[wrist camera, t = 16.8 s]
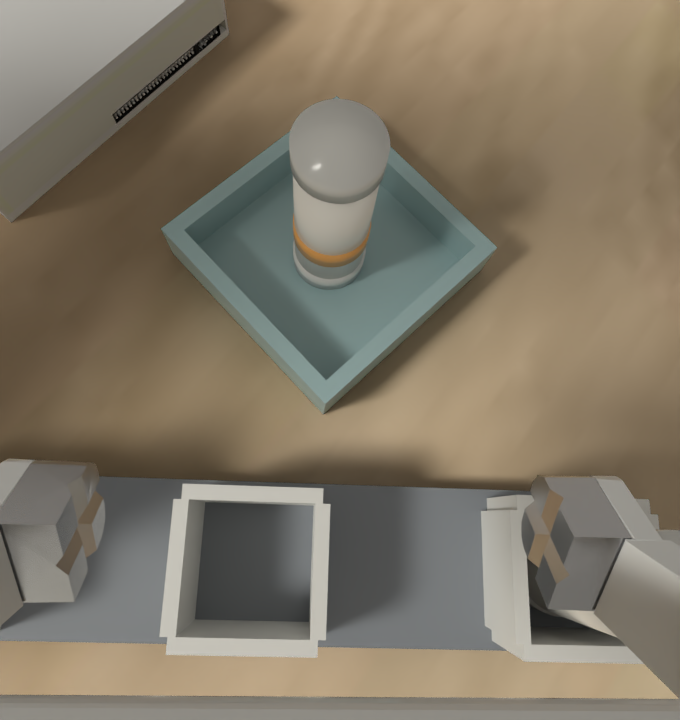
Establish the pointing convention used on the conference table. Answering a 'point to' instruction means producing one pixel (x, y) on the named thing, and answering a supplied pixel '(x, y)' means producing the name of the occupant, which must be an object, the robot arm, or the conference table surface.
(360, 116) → the marked fuse
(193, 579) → the fuse holder
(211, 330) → the conference table surface
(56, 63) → the disc drive
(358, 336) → the tray
